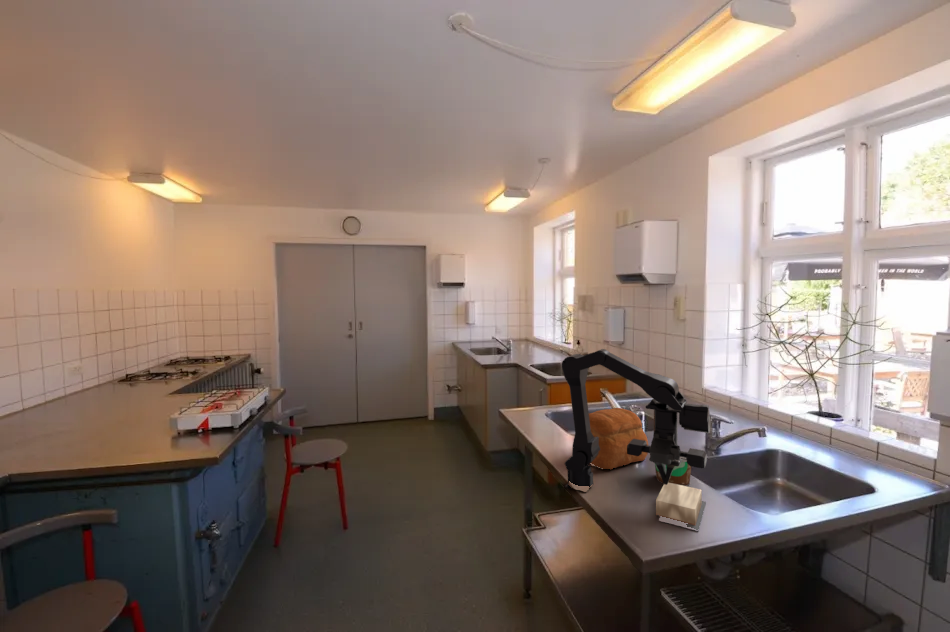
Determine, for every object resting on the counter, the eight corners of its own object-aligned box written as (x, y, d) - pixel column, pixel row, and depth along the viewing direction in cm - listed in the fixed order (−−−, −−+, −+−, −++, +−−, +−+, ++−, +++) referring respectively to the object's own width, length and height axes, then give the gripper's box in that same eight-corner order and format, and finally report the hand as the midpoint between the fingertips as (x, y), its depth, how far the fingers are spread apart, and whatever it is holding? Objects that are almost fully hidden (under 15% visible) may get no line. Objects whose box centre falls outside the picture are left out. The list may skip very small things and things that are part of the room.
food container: (644, 479, 128) (644, 448, 127) (652, 473, 132) (652, 442, 132) (687, 492, 119) (687, 458, 119) (694, 485, 123) (694, 452, 123)
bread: (570, 456, 148) (569, 410, 147) (615, 445, 157) (615, 401, 156) (606, 475, 132) (605, 423, 131) (654, 461, 141) (653, 412, 140)
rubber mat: (657, 521, 105) (657, 519, 105) (669, 494, 118) (669, 493, 118) (698, 532, 100) (698, 530, 100) (705, 503, 113) (705, 501, 113)
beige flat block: (656, 500, 107) (695, 509, 102) (665, 481, 117) (701, 489, 112) (656, 515, 107) (695, 525, 102) (665, 495, 117) (701, 504, 112)
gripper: (620, 429, 109) (621, 487, 110) (701, 442, 98) (701, 506, 99) (632, 418, 118) (632, 472, 119) (707, 428, 107) (707, 487, 108)
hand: (665, 484), depth 111 cm, fingers closed
